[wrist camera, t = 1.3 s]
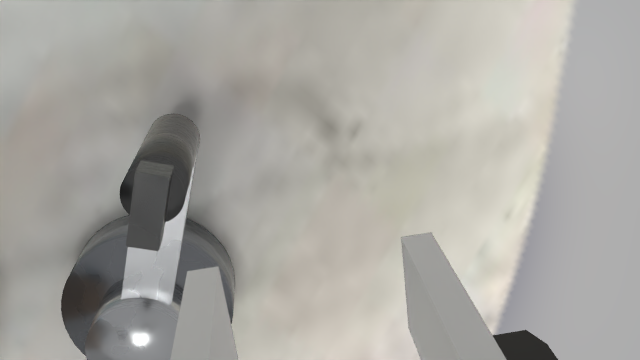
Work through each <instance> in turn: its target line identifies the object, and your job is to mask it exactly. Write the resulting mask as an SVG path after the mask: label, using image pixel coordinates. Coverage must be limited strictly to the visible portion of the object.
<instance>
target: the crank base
mask: <svg viewBox="0 0 640 360" xmlns="http://www.w3.org/2000/svg"><path fill="white" fill-rule="evenodd" d="M129 216H130V215H128V216H125V217H122V218H120V219H117V220H115V221H113V222H111V223H109V224H107V225H106V226H104V227H103V228H102V229H100V230H99V231H98V232H97V233H96V234H95V235H94V236H93V237H92V238H91V239H90V240H89V242H88V243H87V244H86V246H85V247H84V249H83V251H82V253H81V255H80V257H79V259H78V261H77V262H76V264H75V266H74V268H73V270H72V272H71V274H70V276H69V277H68V279H67V281H66V284H65V287H64V290H63V294H62V300H61V311H62V317H63V321H64V324H65V328H66V330H67V332H68V334H69V336H70V338H71V339H72V341H73V342H74V344H75V345H76V346H77V347H78V348H79V350H80V351H81V352H82V353H83V354H84V355H86V354H85V341H86V337H87V335H88V332H89V329H90V327H91V325H92V322H93V320H94V317H95V315H96V312H97V310H98V308H99V305H100V303H101V300H102V298H103V296H104V294H105V293H106V292H107V290H108V289H109V288H110V287H111V286H112V285H114V284H115V283H116V282H118V281H120V280H122V279H124V273H125V265H126V257H127V250H128V247H126V240H127V232H128V224H129ZM217 266H218V267H219V271H220V276H221V280H222V285H223V290H224V294H225V299H226V303H227V308H228V313H229V317H230V322H231V323H232V317H233V302H234V272H233V267H232V264H231V261H230V258H229V256H228V254H227V252H226V250H225V249H224V247H223V246H222V245H221V243H220V242H219V241H218V240H217V239H216V238H215V237H214V235H212V234H211V233H210V232H209V231H208V230H206V229H205V228H203V227H202V226H200V225H199V224H197V223H195V222H193V221H191V220H189V219H186V224H185V230H184V236H183V242H182V248H181V254H180V260H179V266H178V272H177V279H176V283H177V284H178V285H180V286H181V287H182V288H183V289H184V286H185V281H186V275H187V271H192V270H198V269H204V268H211V267H217Z"/></svg>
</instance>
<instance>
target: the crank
mask: <svg viewBox="0 0 640 360" xmlns="http://www.w3.org/2000/svg"><path fill="white" fill-rule="evenodd" d="M199 143H200V135H199V131H198V129H197V127H196V125H195V124H194V123H193V122H192V121H191V120H190V119H188V118H187V117H185V116H183V115H179V114H167V115H164V116H161V117H160V118H158V119H157V120H156V121H155V122H154V123H153V124H152V126H151V128H150V130H149V132H148V134H147V136H146V138H145V140H144V142H143V144H142V145H141V147H140V149H139V151H138V153H137V155H136V157H135V159H134V161H133V163H132V165H131V167H130V168H129V170H128V172H127V174H126V176H125V178H124V180H123V182H122V184H121V187H120V199H121V203H122V205H123V207H124V209H125V210H126V211H127V213H128V214H129V215H130V216H129V224H128V232H127V240H126V247H128V250H127V257H126V265H125V273H124V279H122V280H120V281H118V282H116V283H115V284H114V285H112V286H111V287H110V288H109V289H108V290H107V292H106V293H105V294H104V296H103V298H102V300H101V303H100V305H99V308H98V310H97V312H96V315H95V317H94V320H93V322H92V325H91V327H90V329H89V332H88V335H87V337H86V341H85V354H86V358H87V360H170V358H171V353H172V348H173V343H174V337H175V332H176V327H177V322H178V317H179V312H180V306H181V301H182V296H183V291H184V289H183V288H182V287H181V286H180V285H178V284H177V283H176V279H177V272H178V266H179V260H180V254H181V248H182V242H183V236H184V230H185V224H186V218H187V212H188V206H189V200H190V194H191V187H192V181H193V175H194V169H195V163H196V157H197V151H198V147H199Z"/></svg>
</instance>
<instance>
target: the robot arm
mask: <svg viewBox="0 0 640 360" xmlns="http://www.w3.org/2000/svg"><path fill="white" fill-rule="evenodd" d="M401 241H402V254H403V266H404V278H405V290H406V302H407V315H408V327H409V330H410V333H411V336H412V338H413V341H414V343H415V346H416V348H417V351H418V353H419V356H420V359H421V360H558V359H557V358H556V356H555V355H554V353H553V352H552V351H551V349H550V348H549V346H548V345H547V344H546V343H544V342H543V341H542V340H540V339H538V338H537V337H536V336H534V335H533V334H531V333H530V332H528V331H527V330H523V331H518V332H511V333H505V334H499V335H493V336H492V334H491V332H490V331H489V329H488V327H487V326H486V324H485V322H484V321H483V319H482V317H481V315H480V314H479V312H478V310H477V309H476V307H475V305H474V304H473V302H472V300H471V299H470V297H469V295H468V294H467V292H466V290H465V288H464V287H463V285H462V283H461V282H460V280H459V278H458V277H457V275H456V273H455V272H454V270H453V268H452V266H451V265H450V263H449V261H448V260H447V258H446V256H445V255H444V253H443V251H442V250H441V248H440V246H439V245H438V243H437V241H436V239H435V238H434V236H433V234H432V233H431V232H430V233H424V234H418V235H411V236H405V237H401ZM170 360H238V354H237V349H236V345H235V340H234V336H233V331H232V326H231V322H230V317H229V313H228V308H227V303H226V299H225V294H224V290H223V285H222V280H221V276H220V271H219V267H218V266H217V267H211V268H204V269H198V270H192V271H187V275H186V281H185V286H184V291H183V296H182V301H181V306H180V312H179V317H178V322H177V327H176V332H175V337H174V343H173V348H172V353H171V358H170Z"/></svg>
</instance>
